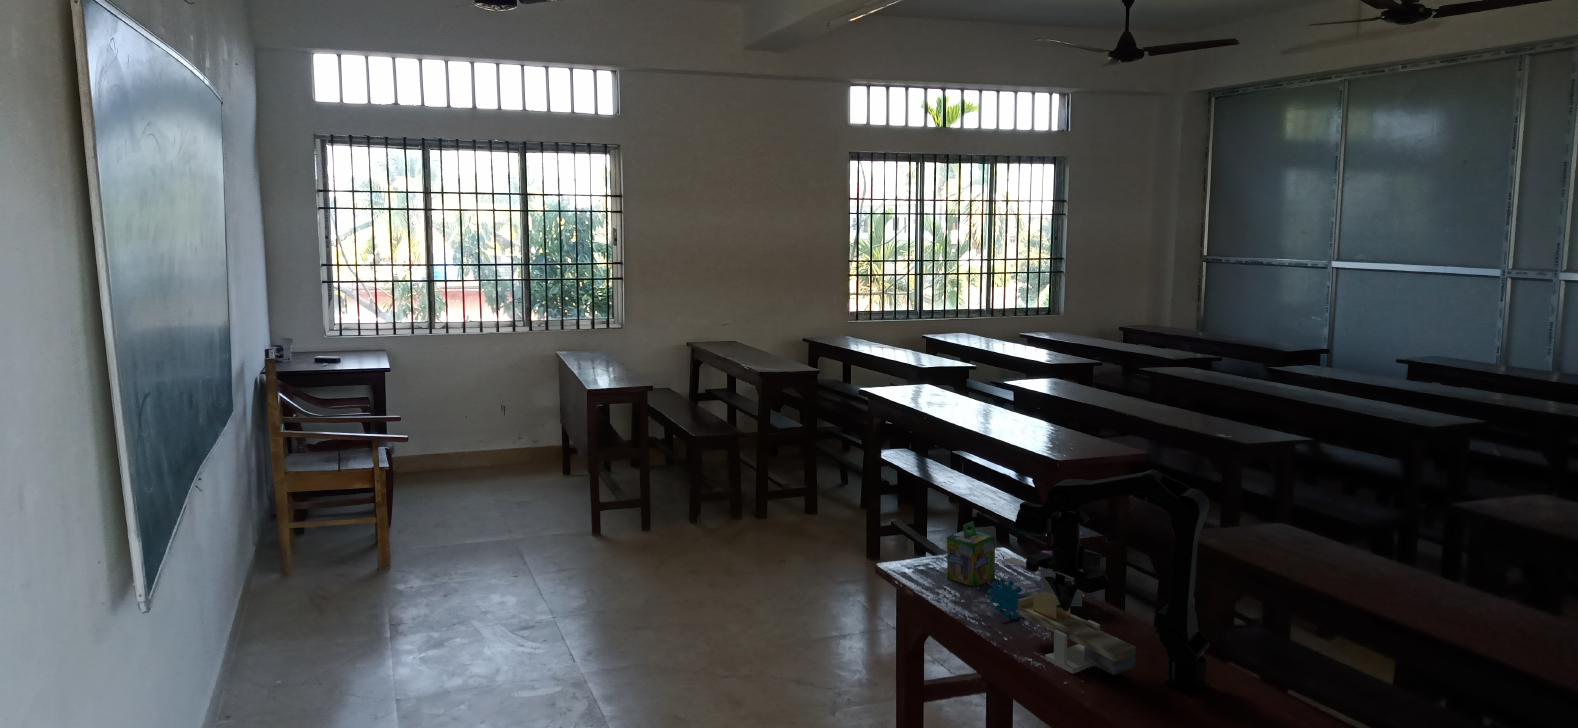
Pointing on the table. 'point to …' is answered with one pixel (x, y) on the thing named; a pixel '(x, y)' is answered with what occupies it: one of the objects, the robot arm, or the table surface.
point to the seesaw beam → (1086, 639)
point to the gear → (1006, 598)
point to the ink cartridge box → (1046, 587)
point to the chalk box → (970, 556)
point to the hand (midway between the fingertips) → (1065, 610)
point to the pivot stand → (1068, 654)
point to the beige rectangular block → (1049, 607)
